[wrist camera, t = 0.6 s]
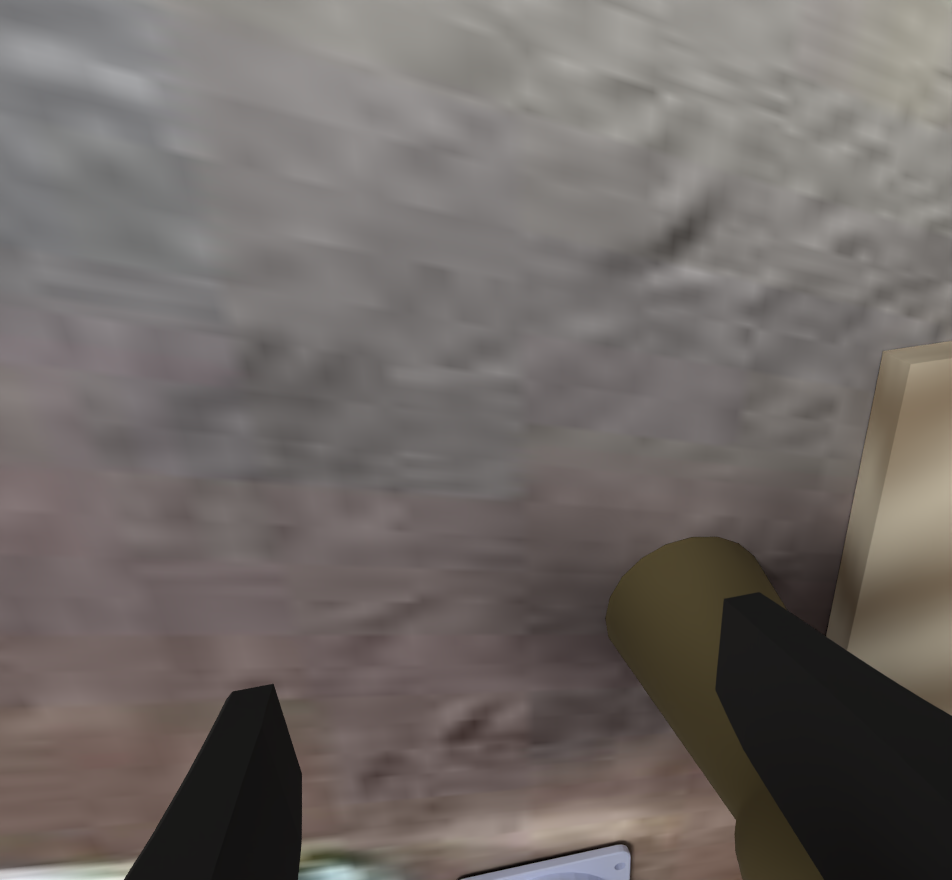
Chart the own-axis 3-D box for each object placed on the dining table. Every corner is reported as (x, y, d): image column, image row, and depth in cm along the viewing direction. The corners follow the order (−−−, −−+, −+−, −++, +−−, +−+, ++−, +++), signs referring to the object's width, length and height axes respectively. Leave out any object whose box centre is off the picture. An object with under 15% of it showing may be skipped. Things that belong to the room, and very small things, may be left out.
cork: (603, 679, 26) (752, 1023, 16) (607, 549, 23) (790, 872, 14) (752, 653, 27) (979, 969, 17) (773, 524, 24) (1059, 814, 14)
